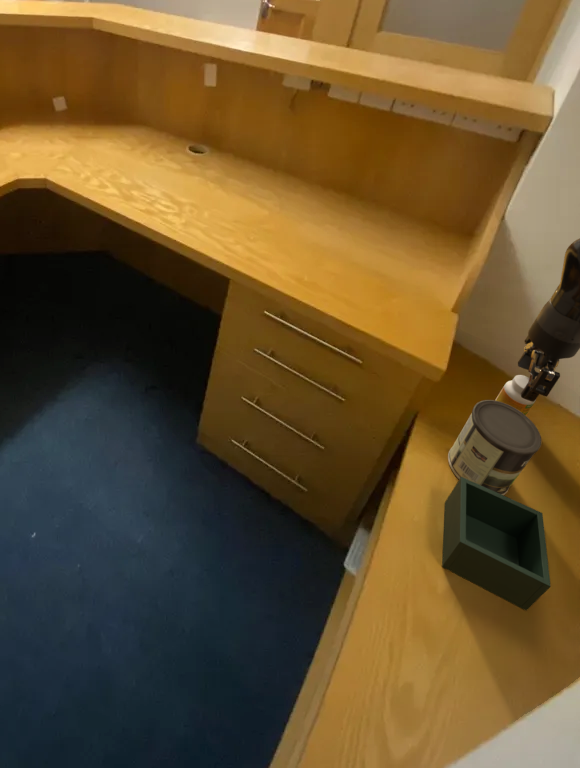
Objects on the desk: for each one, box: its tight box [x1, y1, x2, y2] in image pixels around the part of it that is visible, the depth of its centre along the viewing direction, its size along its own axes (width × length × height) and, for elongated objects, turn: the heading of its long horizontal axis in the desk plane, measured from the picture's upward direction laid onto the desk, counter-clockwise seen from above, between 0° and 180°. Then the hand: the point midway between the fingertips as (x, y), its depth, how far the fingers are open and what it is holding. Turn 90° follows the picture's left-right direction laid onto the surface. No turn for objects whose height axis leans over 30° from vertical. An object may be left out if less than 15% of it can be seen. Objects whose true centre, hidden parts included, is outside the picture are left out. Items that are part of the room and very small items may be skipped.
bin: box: [441, 477, 552, 611], centre depth 83 cm, size 12×12×9 cm
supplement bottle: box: [494, 374, 537, 416], centre depth 105 cm, size 5×5×10 cm
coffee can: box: [447, 399, 543, 496], centre depth 93 cm, size 10×10×14 cm
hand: (524, 382), depth 102 cm, fingers open, 8 cm apart
